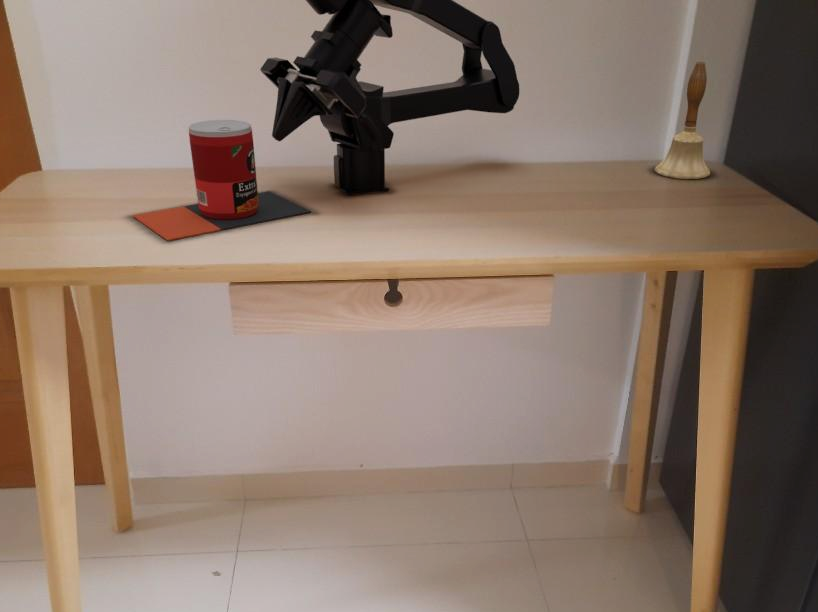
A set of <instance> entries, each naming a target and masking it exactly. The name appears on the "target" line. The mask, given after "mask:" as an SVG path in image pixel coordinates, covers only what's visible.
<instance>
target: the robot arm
mask: <svg viewBox="0 0 818 612" xmlns="http://www.w3.org/2000/svg"><path fill="white" fill-rule="evenodd" d="M305 1H306V3H307V4H308V5H309V6H310V8H311V9H312V10H313V11H314V12H315V13H316V15H319V16H321V15H325V14H328V15H329V16H330V15H331V17H330V19H329V20H328V22H327V23H326V24H325V26H324V27H323V29H322V30H317V29H316V30H315V29H314V31H313V32H312V34H311V35H310V38H311V39H312V41H314V42H313V44H312V45H311V47H310V48H309V49H308V51H307V52H306V54H305V55H304V56H299V55H298V56H296V57H295V58H294V60H293V61H292V63H291V62H290V61H289V60H288V59H284V58H280V57H267V58H266V60H265V62H264V63H263V64H262V66H261V67H260V69H259V70H260V72H261V73H262V74H263V75H264V76H265V77H266V78H267V79H268V80H269V81H270V83H272V84H273V85H274V86H275V87H276V88H277V98H276V99H277V100H276V106H275V114H274V119H273V126H272V132H271V137H272V138H273V139H274V140H275V141H277V142H281V141H283V140H284V139H286V138H287V137H288V136H290V134H292V133H294V131H296V130H297V129H298V128H300V127H301V126H302V125H303V124H305V123H306V122H307V121H309V120H311V119H312V118H313V117H318V116H319V120H320V123H321V124H322V126H323V127H324V128H325V129H326V130H327V132H328V135H329V137H330V140H331V142H333V143H336V154H335V155H334V156H333V174H334V175H333V178H334V179H333V180H334V186H336V187H337V188H338V189H339V190H340V191H342V192H343V193H344V194H345V195H348V196H351V195H362V194H370V193H381V192H388V191H390V187H389V186H388V185H387V184H386V173H385V172H386V163H385V162H386V161H385V160H386V159H385V158H386V156H385V155H386V154H385V153H386V152H385V151H386V150H387V149H390V148H391V146H392V142H393V139H394V136H395V135H394V132H393V130H392V129H391V128H390V127H389V126H390V125H392V124H394V123H400V122H405V121H413V120H417V119H423V118H430V117H435V116H440V115H446V114H453V113H457V112H463V111H464V112H465V111H475V112H481V113H482V112H483V113H492V114H507V113H510V112H511V111H513V110H514V108H515V106H516V104H517V102H518V100H519V97H520V83H519V80H518V76H517V71H516V65H515V63H514V61H513V59H512V58H511V56H510V54H509V52H508V51H507V49H506V47H505V45H504V44H503V39H502V35H501V30H500V27H499V26H498V25H497V24H496V23H495V22H494V21H492V20H486V19H485V18H484V17H482V16H480V15H478V14H476V13H475V12H473V11H471V10H470V9H468V8H467V7H464V6H463V5H461V4H460V3H458V2H457V1H454V0H305ZM376 6H377V7H380V8H385V9H388V10H392V11H397V12H401V13H404V14H409V15H411V16H412V17H414V18H416V19H418V20H420V21H422V22H423V23H425V24H427V25H429V26H431V27H432V28H434V29H436V30H437V31H439V32H441V33H443V34H445V35H447V36H449V37H450V38H452V39H454V40H455V41H458V42H459V43H461V44H462V49H463V55H462V62H461V73H462V75H461V76H460V77H459V78H457V80H454V81H451V82H444V83H438V84H431V85H426V86H418V87H412V88H405V89H399V90H392V91H385V92H384V88H385V87H384V86H383V85H379V84H375V83H370V82H365V81H362V80H361V81H358V79H357V77H358V75H359V73H360V72H361V67H362V64H361V62H360V61H359V60H358V59H359V58H360V57H361V55H362V53H363V52H364V51H365V49H366V48H367V47H368V46H369V44H370V42H371V41H372V39H373V38H374V36H375V37H378V38H380V37H381V38H387V39H391V38H392V37H393V35H394V34H393V33H394V32H393V27H392V22H391V19H392V17H391V15H390V14H383V13H381V12H380V10H379V9H378V8H377V7H376ZM482 56H483V57H484V59H485V61H486V63H487V64H488V66H489V68H490V69H486V68H483V64H482V59H481V58H482ZM293 64H294V65H293ZM295 66H296V67H295ZM298 69H299V70H298Z"/></svg>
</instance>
